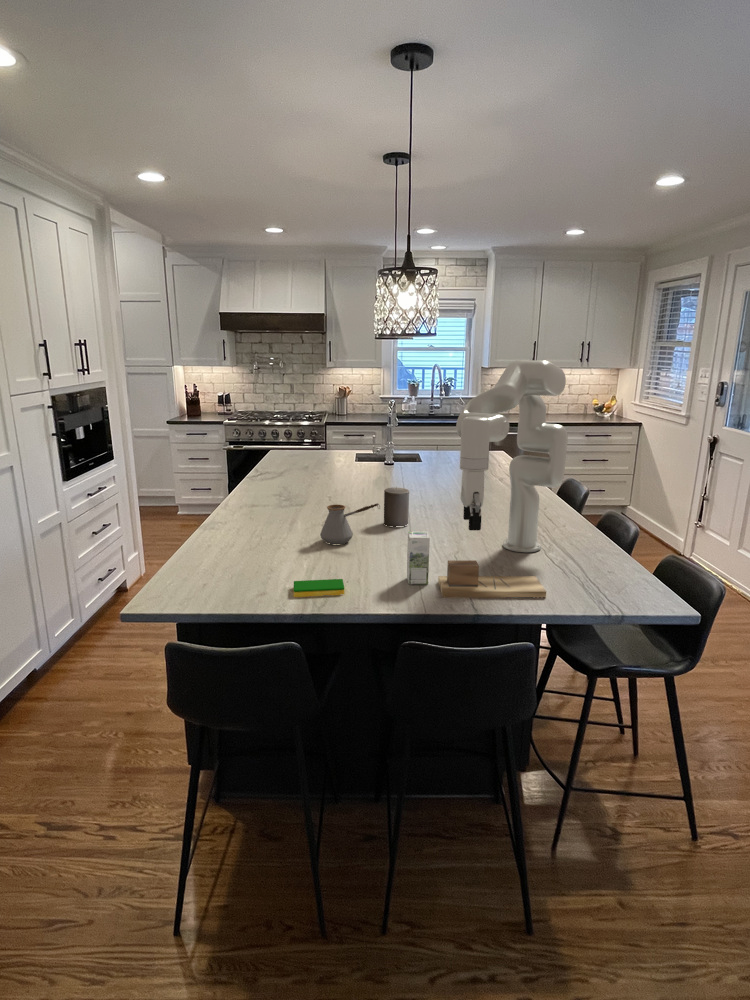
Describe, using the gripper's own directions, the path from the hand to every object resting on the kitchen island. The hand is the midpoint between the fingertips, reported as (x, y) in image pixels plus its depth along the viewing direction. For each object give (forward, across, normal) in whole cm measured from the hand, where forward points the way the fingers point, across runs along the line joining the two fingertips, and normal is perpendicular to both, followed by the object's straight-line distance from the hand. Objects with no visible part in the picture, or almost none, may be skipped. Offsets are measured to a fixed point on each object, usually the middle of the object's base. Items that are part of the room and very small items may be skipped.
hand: (471, 524), depth 158 cm
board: (+19, +1, +6) cm, 20 cm away
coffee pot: (+19, -39, -36) cm, 56 cm away
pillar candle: (+20, -62, -19) cm, 68 cm away
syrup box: (+19, -4, -14) cm, 24 cm away
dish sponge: (+19, +3, -42) cm, 46 cm away
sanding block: (+17, +1, -2) cm, 17 cm away
